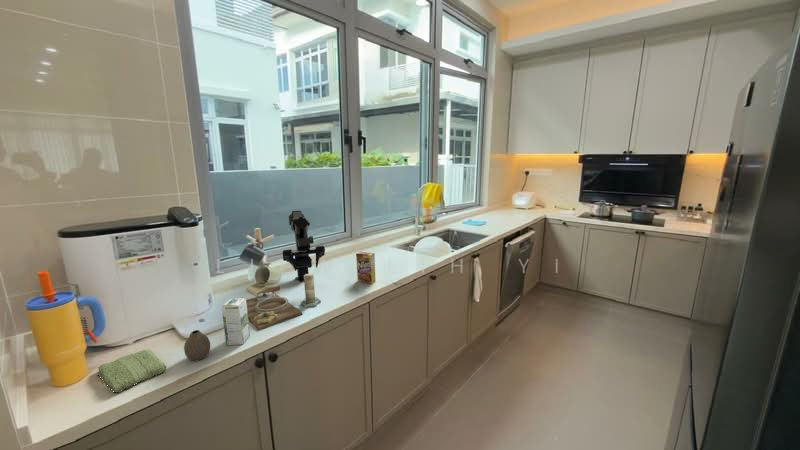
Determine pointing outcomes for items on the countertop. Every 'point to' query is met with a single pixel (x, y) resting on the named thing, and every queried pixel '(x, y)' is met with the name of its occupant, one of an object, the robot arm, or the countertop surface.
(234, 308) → the syrup box
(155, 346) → the countertop surface
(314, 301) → the gear
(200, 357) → the vase
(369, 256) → the candy box
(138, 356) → the washcloth
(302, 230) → the robot arm
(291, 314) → the gear board
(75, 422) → the countertop surface
